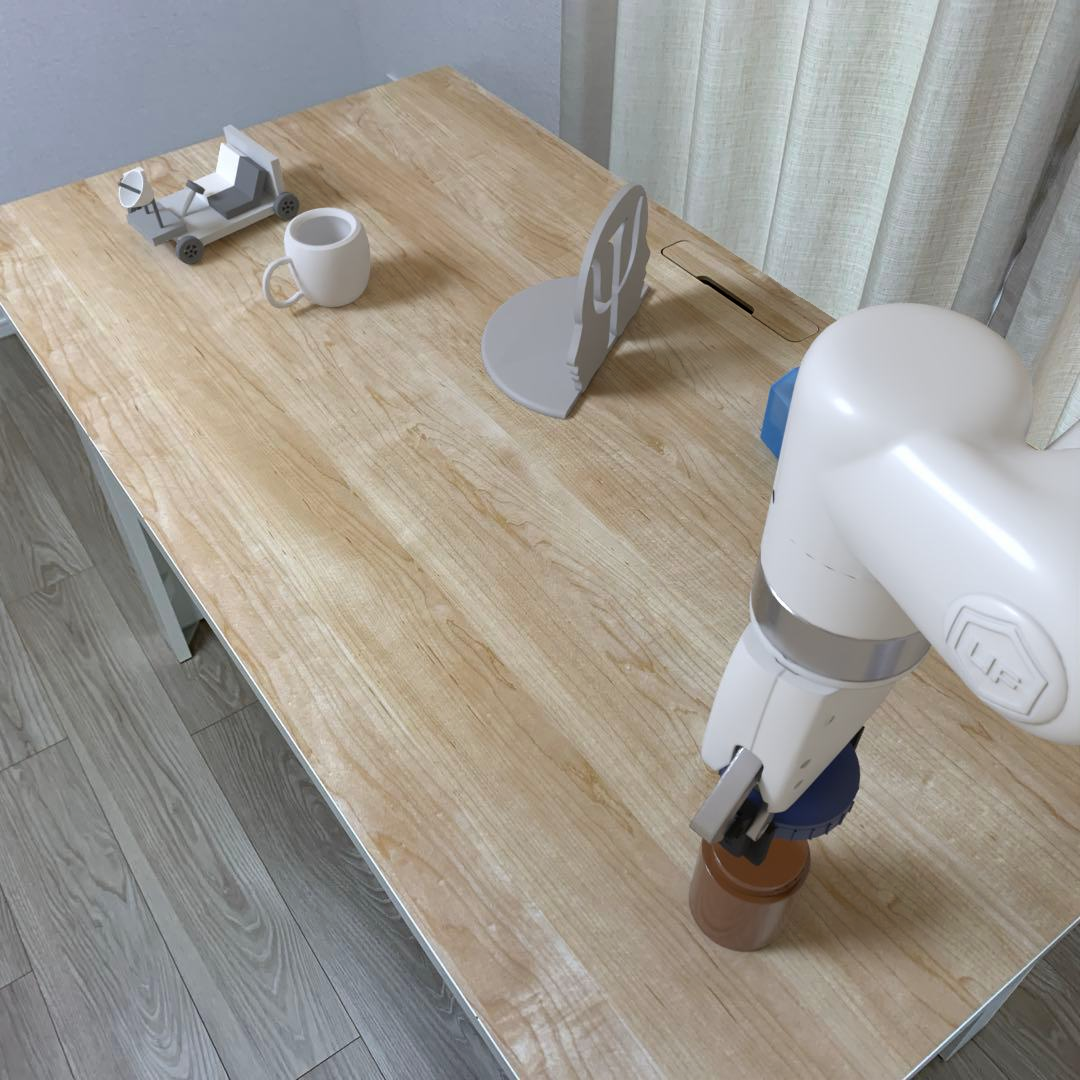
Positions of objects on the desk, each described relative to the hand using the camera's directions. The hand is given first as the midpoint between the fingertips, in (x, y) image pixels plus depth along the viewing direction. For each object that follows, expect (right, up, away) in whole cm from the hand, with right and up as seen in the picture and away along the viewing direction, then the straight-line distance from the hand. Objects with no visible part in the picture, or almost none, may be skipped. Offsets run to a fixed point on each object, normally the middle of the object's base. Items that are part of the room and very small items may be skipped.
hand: (781, 794), depth 56 cm
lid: (0, +2, -2) cm, 3 cm away
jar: (0, -10, +12) cm, 16 cm away
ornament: (-12, +34, +50) cm, 61 cm away
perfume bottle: (+11, +22, +39) cm, 46 cm away
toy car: (-51, +49, +63) cm, 95 cm away
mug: (-36, +39, +54) cm, 75 cm away
